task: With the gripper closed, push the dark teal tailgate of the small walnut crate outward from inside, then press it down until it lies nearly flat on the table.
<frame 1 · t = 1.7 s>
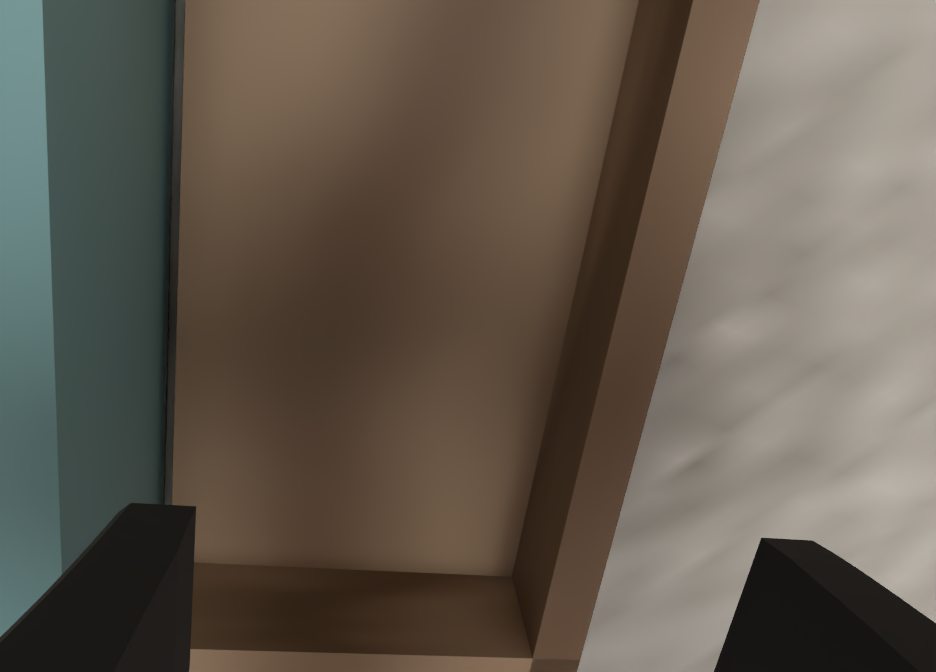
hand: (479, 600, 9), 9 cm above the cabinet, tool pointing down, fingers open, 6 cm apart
crate: (367, 277, 17), on the cabinet
tailgate: (85, 331, 13), point 4 cm above the cabinet, hinge at 0.0°
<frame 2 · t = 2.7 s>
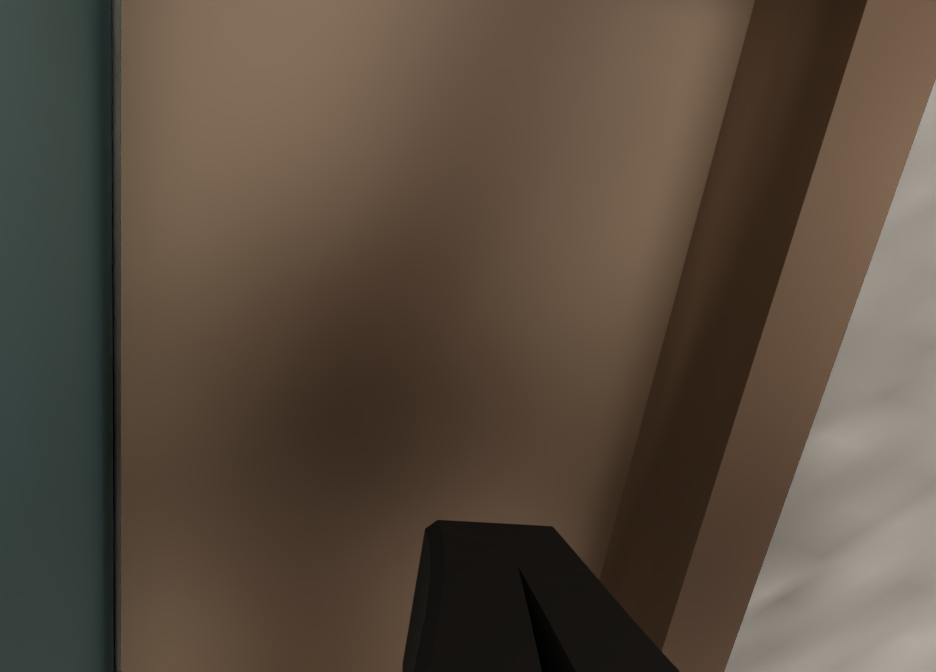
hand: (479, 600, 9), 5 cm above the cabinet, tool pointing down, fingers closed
crate: (374, 384, 13), on the cabinet
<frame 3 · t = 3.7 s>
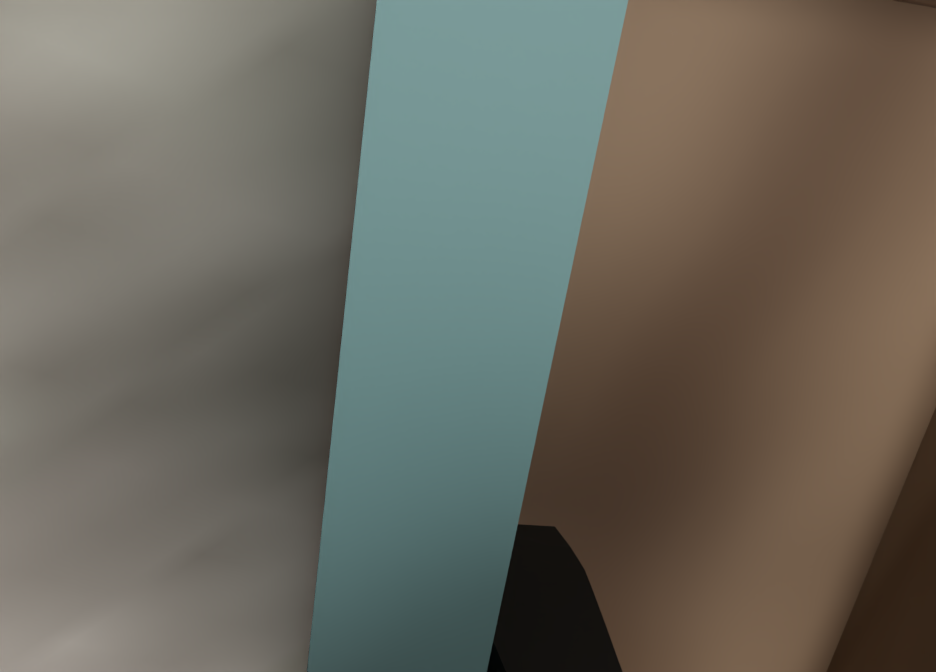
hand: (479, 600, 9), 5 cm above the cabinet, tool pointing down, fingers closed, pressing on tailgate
crate: (651, 416, 14), on the cabinet
tailgate: (374, 551, 10), point 4 cm above the cabinet, hinge at 2.1°, touching gripper
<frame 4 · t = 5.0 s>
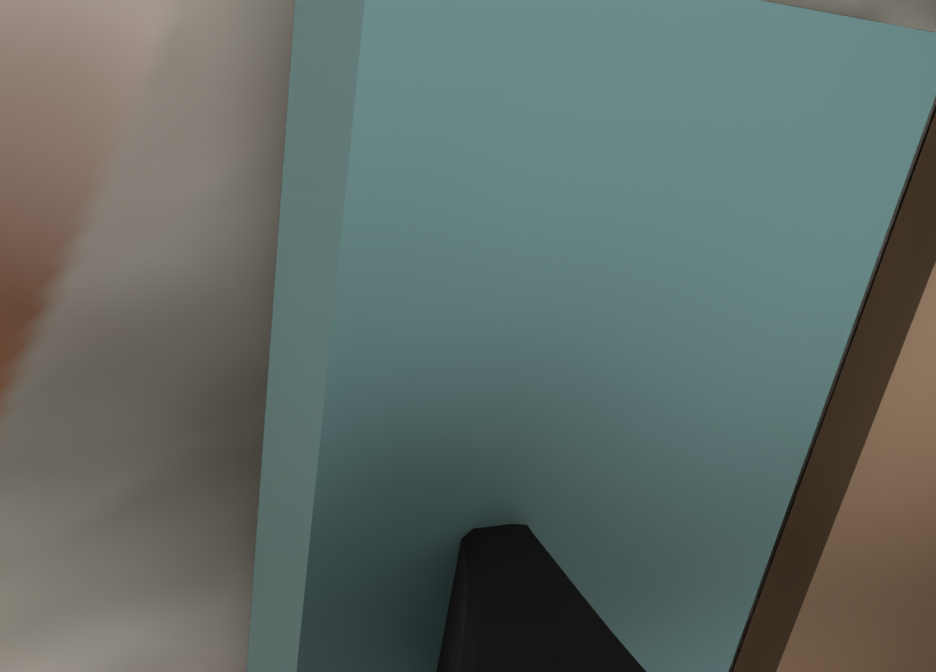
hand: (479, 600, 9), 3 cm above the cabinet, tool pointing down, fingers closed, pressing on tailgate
tailgate: (557, 537, 10), point 2 cm above the cabinet, hinge at 65.1°, touching gripper
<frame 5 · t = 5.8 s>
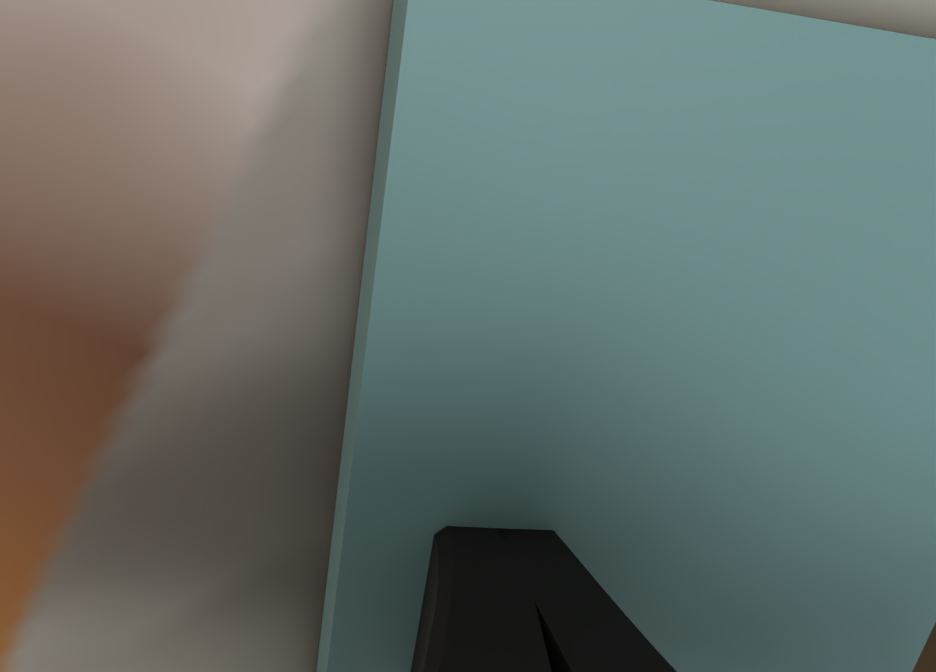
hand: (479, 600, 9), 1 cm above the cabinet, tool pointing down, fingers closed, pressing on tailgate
tailgate: (640, 577, 10), point 1 cm above the cabinet, hinge at 88.1°, touching gripper
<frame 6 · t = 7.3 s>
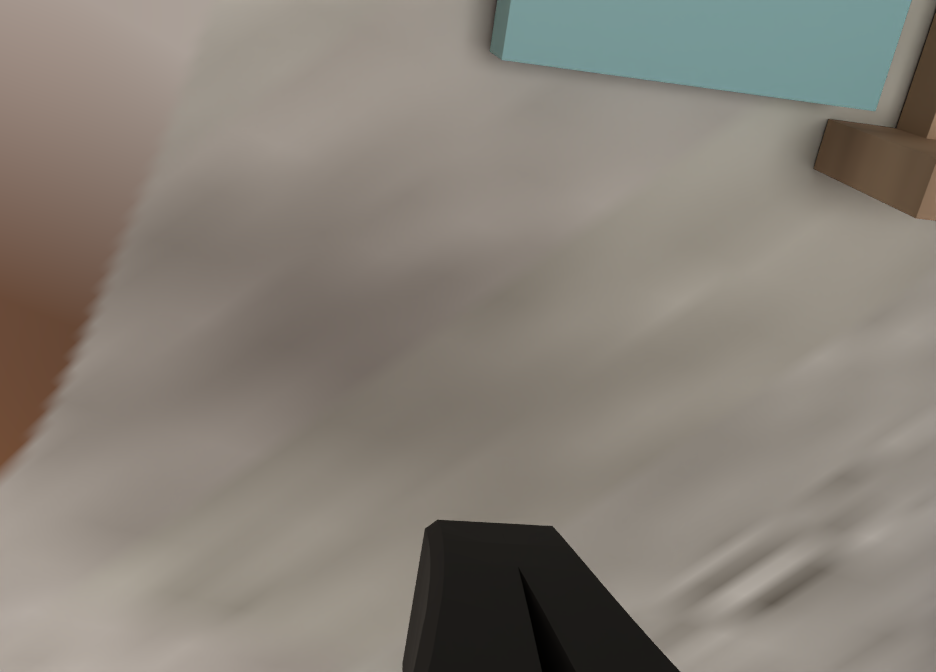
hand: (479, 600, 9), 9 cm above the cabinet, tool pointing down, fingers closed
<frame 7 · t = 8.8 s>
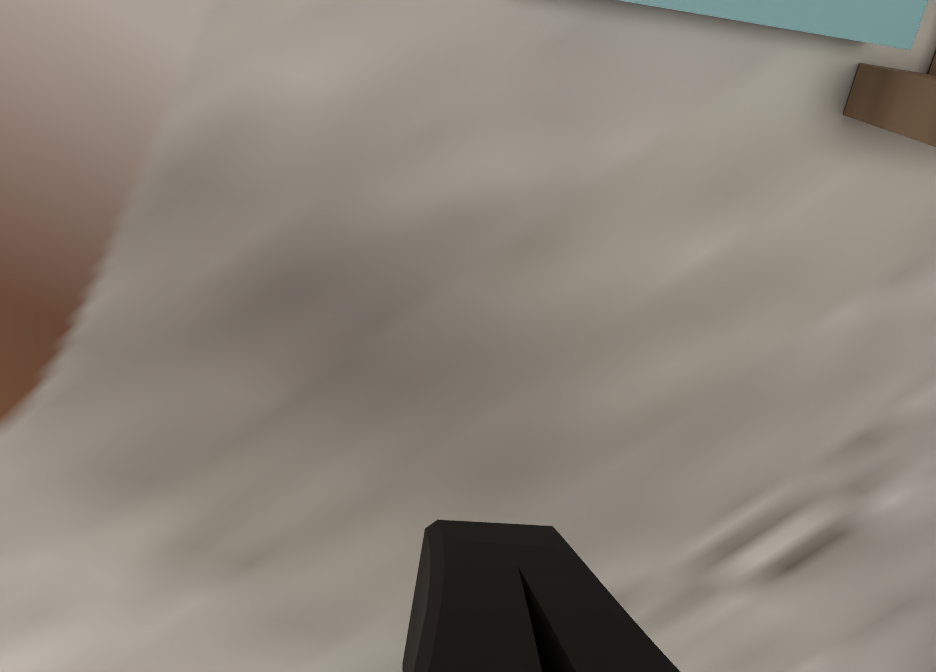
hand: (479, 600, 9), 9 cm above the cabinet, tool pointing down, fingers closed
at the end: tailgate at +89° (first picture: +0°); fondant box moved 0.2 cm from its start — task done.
